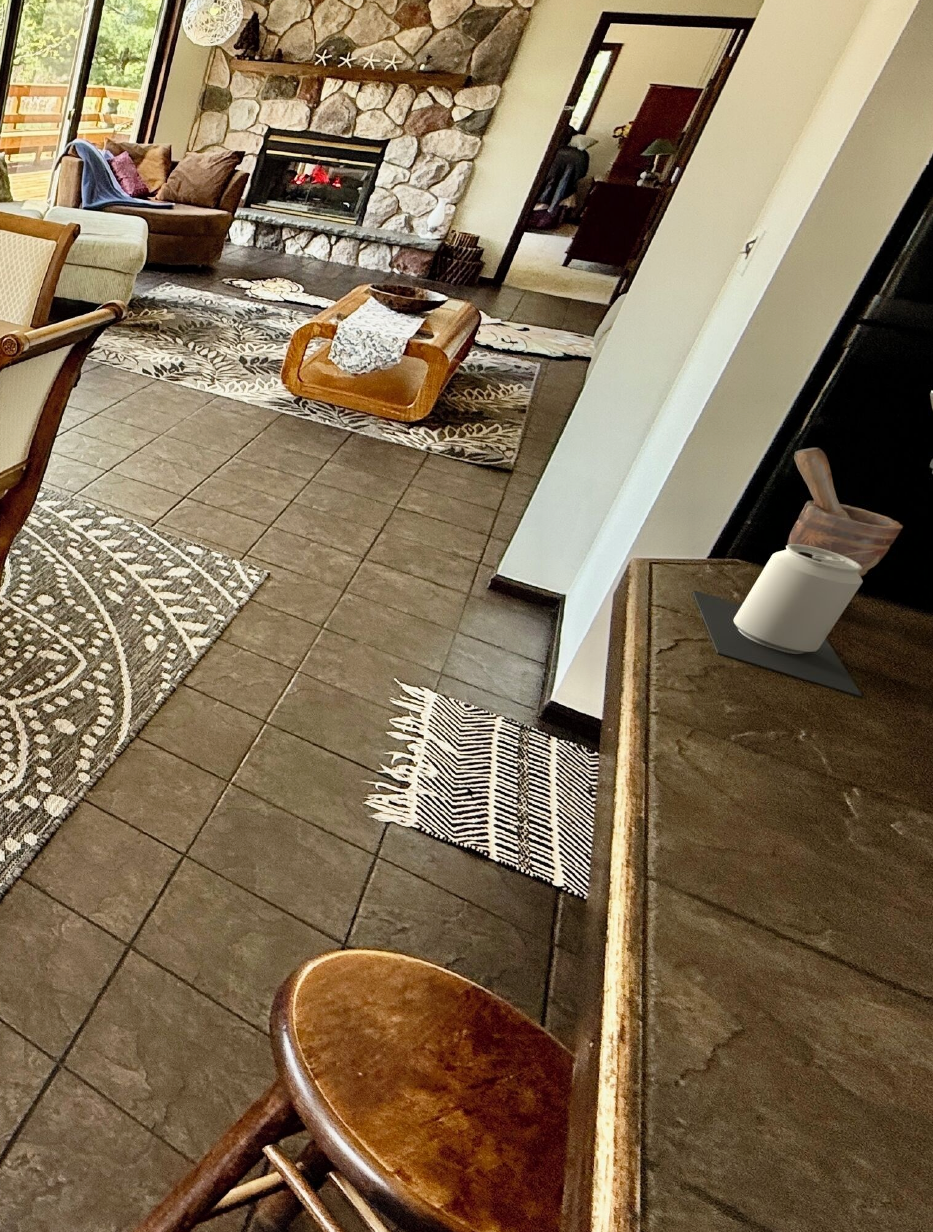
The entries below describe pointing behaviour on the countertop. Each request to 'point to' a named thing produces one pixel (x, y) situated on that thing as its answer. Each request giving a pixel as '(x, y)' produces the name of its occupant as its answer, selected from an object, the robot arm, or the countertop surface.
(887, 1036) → the countertop surface
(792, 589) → the can
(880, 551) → the mortar and pestle
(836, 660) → the mat
